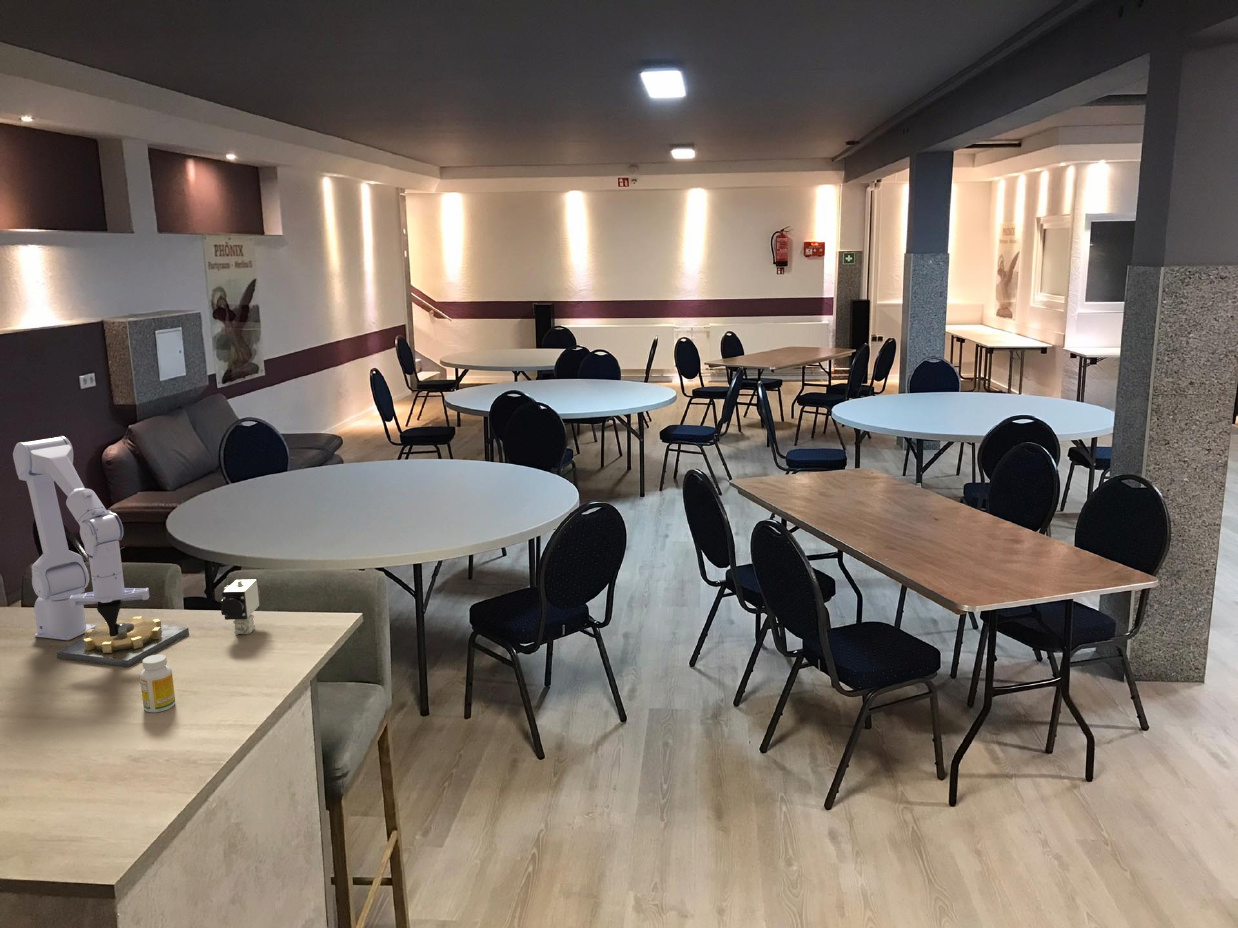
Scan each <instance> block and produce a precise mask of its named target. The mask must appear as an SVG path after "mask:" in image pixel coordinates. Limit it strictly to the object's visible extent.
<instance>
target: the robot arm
mask: <svg viewBox="0 0 1238 928" xmlns="http://www.w3.org/2000/svg"><path fill="white" fill-rule="evenodd" d="M12 459H13V462H14V466H15V467H14V468H15V471H16V475H17V476H18V480H19V481H24V482H26V485H27V488H28V492H29V496H30V500H31V501H30V502H31V506H32V510H33V515H34V518H35V519H34V520H35V523H36V527H37V532H38V536H39V541H40V546H41V550H42V554H41V555H40V557H39V558H38V559H37V560H36V561H35V562H34V563H33V564H32V565H31V576H32V577H31V585H32V588H33V590H34V591H33V592H34V593H35V595H36V596H37V599H36V600H35V603H34V607H33V609H34V618H35V624H36V629H37V630H36V631H37V633H35V634H34V637H36V638H46V639H52V640H53V639H55V640H62V641H71V640H73V639H75V638H77V637H79V636H81V635H83V634H85V632H86V631H87V630H88V629H95V628H97V625H96V624H90V623H89V624H88V623H87V619H86V613H85V607H84V605H86V606H87V605H94V604H97V608H96V609H97V612H98V613H99V615H100V616H101V617H102V618H103V620H104V621H105V622H106V623H107V624H108V626H109V633H110V637H112V636H116V635H117V634H116V628H115V625H116V624H117V621H118V617H119V614H120V613H119V612H120V611H121V607H122V604H123V602H124V601H135V600H142V601H146V600H149V599H150V591H149V587H145V588H135V587H134V588H133V587H131V588H130V587H125V581H124V575H123V574H124V573H123V566H122V565H123V564H122V557H121V556H122V555H121V550H120V541H121V540H122V539H123V537H124V525H123V524H122V520H121V519H120V516H119V515H118V514H117V513H116V512H112V511H111V510H110V509H109V510H108V509H106V507H105V506H104V504H103V503H102V501H101V500H100V498H99V497H98V495H97V494H96V492H95V491H94V490H93V489H91V488H85V487H86V486H84V483H83V482H82V480H81V478H80V477H79V475H78V472H77V470H76V469H75V466H74V448H73V445H72V442H71V441H70V440H69V438H68V437H65V436H64V435H59V436H57V437H52V438H51V437H49V438H44V439H38V440H32V441H31V440H30V441H24V442H22V441H20V442H17V443H16V445H15V446H14V449H13V452H12ZM55 483H56V485H57V486H58V487H59V488H60V489H61V491H62V492H63V493H64V494H65V495H66V496H67V498H66V501H65V505H66V507H67V508H68V510H69V512H70V513H71V515H72V516H73V518H74V520H75V521H76V522H77V523H78V525H79V535H80V538H81V541H82V543H83V546H84V551H85V553H86V554H87V555H88V561H89V567H90V572H89V570H88V568H87V566H86V565H85V564H86V563H85V562H84V561H85V560H84V558H83V556H82V555H81V554H79V553H77V552H74V551H72V550H69V545H68V541H67V537H66V532H65V527H64V526H65V525H64V524H63V523H64V522H63V518H62V512H61V509H60V504H59V500H58V495H57V490H56V487H55ZM90 575H91V576H90ZM90 577H91V584H92V591H90V592H86V591H85V588H87V587H88V586H89V582H90Z"/></svg>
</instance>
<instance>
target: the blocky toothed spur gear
mask: <svg viewBox="0 0 1238 928" xmlns="http://www.w3.org/2000/svg"><path fill="white" fill-rule="evenodd" d="M161 625H162V621H161V620H160V619H159V618H154V619H149V618H144V616H133V617H132V618H126V619H121V620H119V619H118V620H117V624H116V625H115V628H116V634H117V635H116V636H112V637H110V633H109V626H108V624H107V623H106V621H105V622H104V624H101V625H99V626H96V628H94V629H88V630H87V631H86V632H85V633H84V638H85V639H84V638H82V639H83V640H84V647H85V649H86V650H91V649H96V650H102V651H103V653H112V652H113V651H114V650H122V649H128V648H133V649H136V648H139V647H143V644H145V643H147V642H149V641H151V640H152V639H159V638H160V637H161V636H162V633H161V629H162V628H161Z"/></svg>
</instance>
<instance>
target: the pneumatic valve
mask: <svg viewBox="0 0 1238 928" xmlns="http://www.w3.org/2000/svg"><path fill="white" fill-rule="evenodd" d="M260 587H261V586H260V585H259V580H258V578H236V579H235V580H234V581H233V582H232V583H231V584H230V585H226V586H225V587H223V592H222V593H221V594H222V595H221V596H222V599H221V600H220V602H219V604H220V605H219V606H220V613H221V616H224V620H225V621H226V620H227V621H229V620H233V624H234V634H235V635H237V636H239V634H240V635H241V634H242V635H245V634H246V635H250V634H251V633H252V632H253V631H254V629H255V628H256V626H255V625H254V623H255V622H254V617H255V616H254V614H253V613H254V611H256V610H257V609H258V607H259V606H260V605H261V600H260V593H261V588H260Z"/></svg>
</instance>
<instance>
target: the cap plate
mask: <svg viewBox="0 0 1238 928" xmlns="http://www.w3.org/2000/svg"><path fill="white" fill-rule="evenodd" d="M161 628H162V629H161V633H162V636H161V637H160V638H159V639H152V640H151V641H149V642H147V643H145V644H143V647H139V648H136V649H133V648H128V649H122V650H114V651H113V652H112V653H103V651H102V650H96V649H91V650H86V649H85V647H84V640H83V639H85V637H84V638H82V639H79V640H78V641H75V642H74V643H72V644H70V645H66V646H65V647H63V648H61V649H59V650H57V651H55V652H56V658H57V659H58V660H67V661H76V662H81V663H82V662H83V663H92V664H99V665H107V666H114V667H123V668H130V667H131V666H133V665H135V664H136V663H138V662H141V661H143V659H144V658H146V657H148V656H151V655H154V654H155V653H157V652H159V651H160V650H163V649H164V648H166V647H167V646H169V645H172V644H173V643H174V644H175V642H177V641H179V640H181V639H182V638H184V637H186V636H188V635H190V632H189V631H190V630H189V627H185V626H176V625H168V624H167V625H166V624H161Z"/></svg>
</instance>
